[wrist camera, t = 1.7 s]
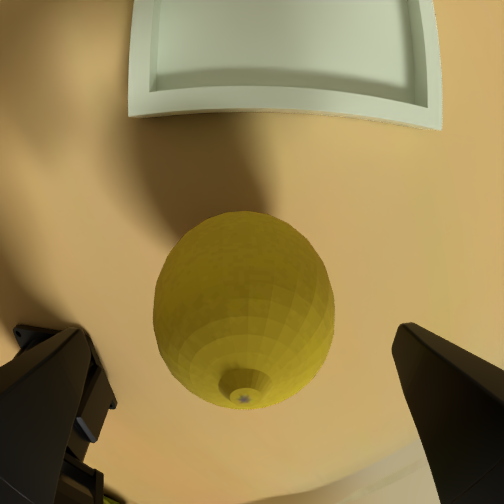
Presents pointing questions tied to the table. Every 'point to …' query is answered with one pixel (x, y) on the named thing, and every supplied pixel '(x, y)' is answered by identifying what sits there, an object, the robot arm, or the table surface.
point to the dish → (287, 59)
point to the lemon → (243, 310)
